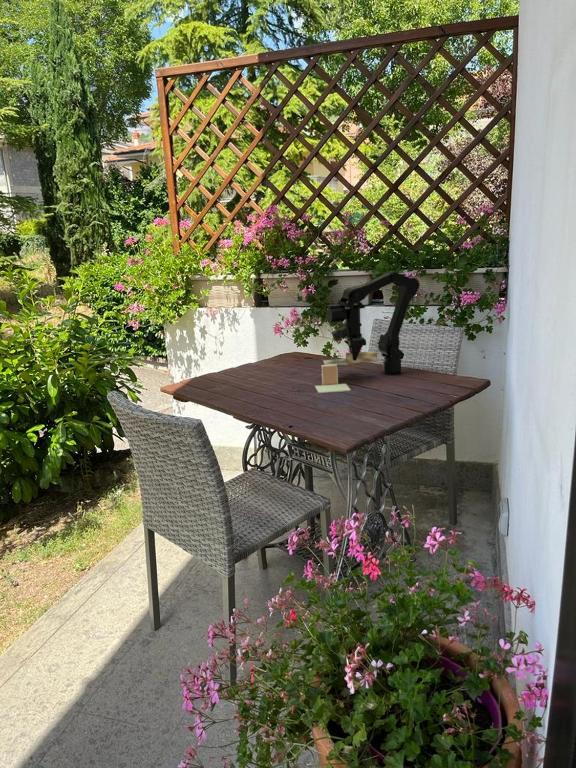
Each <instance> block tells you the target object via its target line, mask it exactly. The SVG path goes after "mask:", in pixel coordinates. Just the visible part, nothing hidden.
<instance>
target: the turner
mask: <svg viewBox="0 0 576 768" xmlns="http://www.w3.org/2000/svg"><path fill="white" fill-rule="evenodd" d="M322 361H323V363H324V365H329V364H337V365H340V366H346V365H349V364H357V363H368V362H377V361H378V352H377V351H376V350H373V351H370V350H369V351H360V352H359V355H358V357H357V359H356V360H355V361H354V360H353V356H352V353H350V352H346V353H345V358H341V359H328V360H325V359H324V360H322Z"/></svg>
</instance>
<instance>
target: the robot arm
mask: <svg viewBox="0 0 576 768" xmlns="http://www.w3.org/2000/svg"><path fill="white" fill-rule="evenodd" d="M390 284H394V285H395V286H397V300H396V303H395V306H394V310H393V313H392V316H391V318H390V322H389V325H388V328H387V331H386V332H385V334H380V336H379V340H378V342H377V345H378V346H377V349H378V350H379V352H380V353H381V356H382V358H383V361H382V372H383V373H384V374H386V375H395V374H396V375H398V374H399V373H400V374H403V371H402V360H403V359H404V356H405V353H404V352H403V351H402V350H401V349H400V333H401V329H402V327H403V324H404V321H405V318H406V314H407V311H408V308H409V306H410V303H411V300H412V299H413V298H414V297H415V296H416V294H417V292H418V291H419V288H420V286H421V284H420V282H419V279H418V278H416V277H410V276H407V275H404V274H401V273H399V272H397V271H394V270H392V271H391V270H389V271H387V272H386V273H383V274H382V275H380V276H378V277H375V278H373V279H371V280H369V281H367V282H365V283H363V284H358V285H353V286H349V287H347V288H345V289H343V292H342V296H341V297H340V299H339V301H338V303H337V304H330V305H329V304H328V306H327V309H326V313H325V317H326V318H325V319H326V321H327V323H328V324H335V323H342V322H344V321H345V322H344V323H343V326H342V327H339V328H337V329H335V330H333V331H331V332H330V333H331V336H332V338H333V340H334V341H335V342H338V341H339V340H343V342H344V343H345V344H346V345H347V346H348V350H349V353H352V356H353V360H354V361H355V360H356V359H357V357H358V355H359V352H361V349H362V348H363V346H367V339H366V338H364V336H363V334H362V331H361V330H362V329H361V327H362V325H363V324H362V322H361V309H365V308H366V306H365V305H364V304H363V303H362V301H363V300H364V299H365V298H367V297H368V296H369V294H371V293H374V292H376V291H378V290H380V289H382V288H384V287H386V286H388V285H390Z"/></svg>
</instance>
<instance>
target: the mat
mask: <svg viewBox="0 0 576 768" xmlns="http://www.w3.org/2000/svg"><path fill="white" fill-rule="evenodd" d="M314 387H315V389H316V391H317V393H318V394H326V393H329V394H330V393H340V392H341V393H342V392H351V388H350V387H349V386H348V385H347V383H338V384H335V385H322V384H321V385H315V386H314Z"/></svg>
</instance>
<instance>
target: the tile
mask: <svg viewBox="0 0 576 768" xmlns="http://www.w3.org/2000/svg"><path fill="white" fill-rule="evenodd" d="M338 370H339V369H338V367H337V364H329V365H321V386H322V385H335V384H339V378H338V377H339V374H338V373H339V371H338Z"/></svg>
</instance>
